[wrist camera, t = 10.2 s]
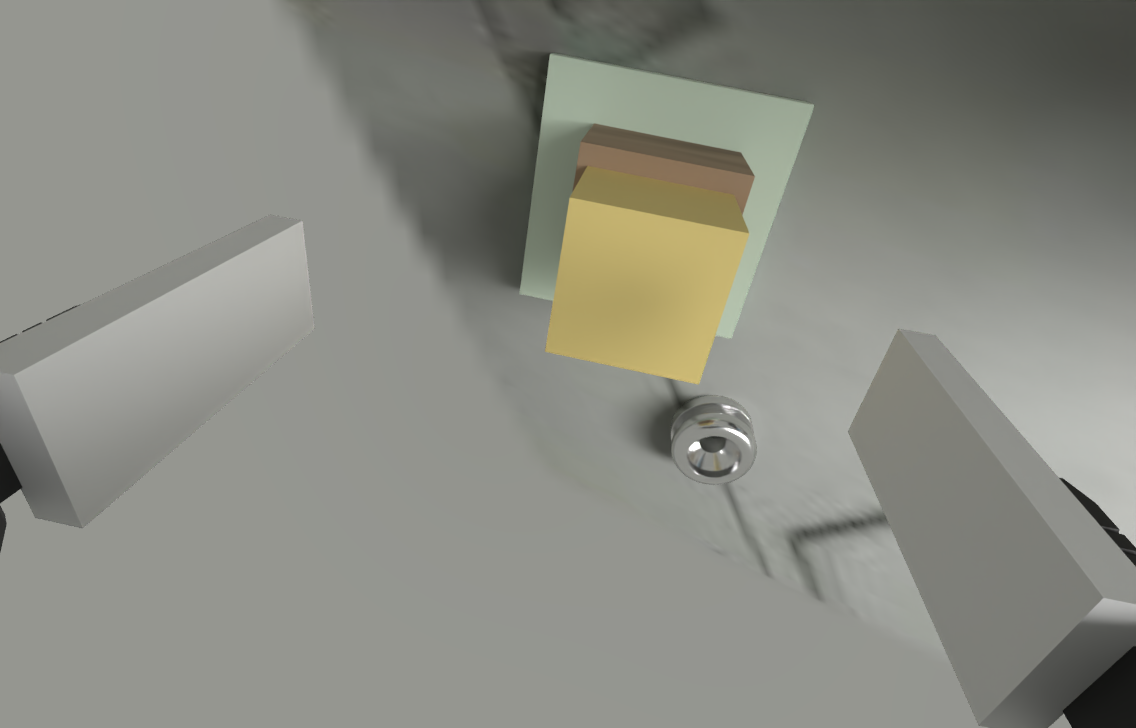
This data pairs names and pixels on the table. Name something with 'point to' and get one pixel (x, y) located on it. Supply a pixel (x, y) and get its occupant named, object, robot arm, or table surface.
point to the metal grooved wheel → (713, 440)
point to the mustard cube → (644, 273)
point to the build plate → (666, 110)
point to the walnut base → (665, 161)
